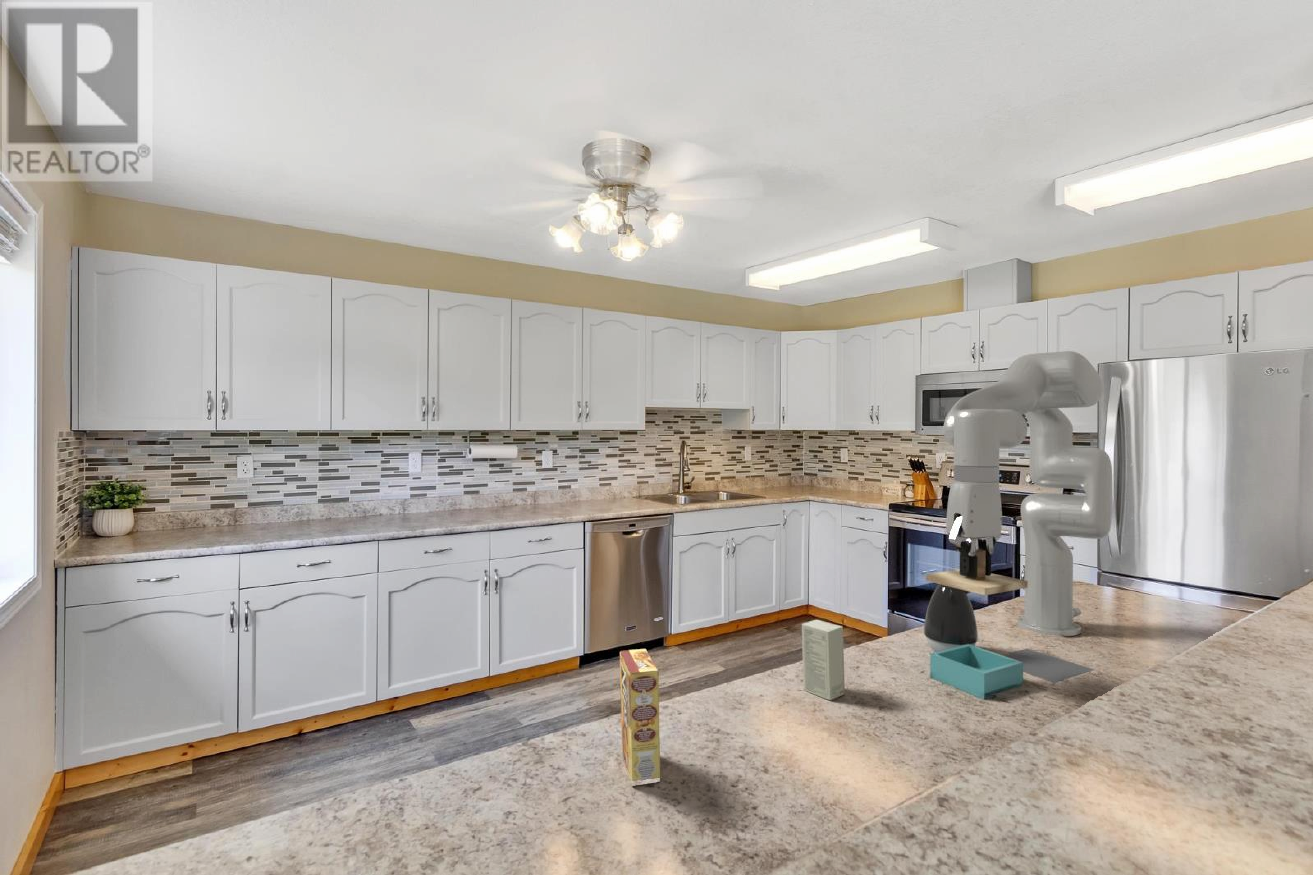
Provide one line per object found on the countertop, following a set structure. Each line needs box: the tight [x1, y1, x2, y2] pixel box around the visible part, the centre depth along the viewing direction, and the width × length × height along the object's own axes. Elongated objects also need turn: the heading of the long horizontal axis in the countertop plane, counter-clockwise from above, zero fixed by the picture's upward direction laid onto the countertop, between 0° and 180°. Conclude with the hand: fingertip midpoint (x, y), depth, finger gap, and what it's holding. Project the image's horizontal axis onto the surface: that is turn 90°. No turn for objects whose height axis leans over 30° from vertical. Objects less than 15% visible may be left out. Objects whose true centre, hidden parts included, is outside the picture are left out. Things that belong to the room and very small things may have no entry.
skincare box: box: [801, 619, 846, 701], centre depth 112 cm, size 6×4×12 cm
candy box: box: [619, 648, 661, 781], centre depth 87 cm, size 9×4×15 cm, turn 13°
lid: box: [925, 548, 1028, 596], centre depth 116 cm, size 12×12×6 cm
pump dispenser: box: [923, 584, 979, 653], centre depth 131 cm, size 10×10×15 cm
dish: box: [929, 644, 1024, 700], centre depth 116 cm, size 11×11×4 cm
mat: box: [1002, 648, 1094, 683], centre depth 124 cm, size 13×13×1 cm
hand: (975, 574), depth 116 cm, fingers closed on lid, 3 cm apart
